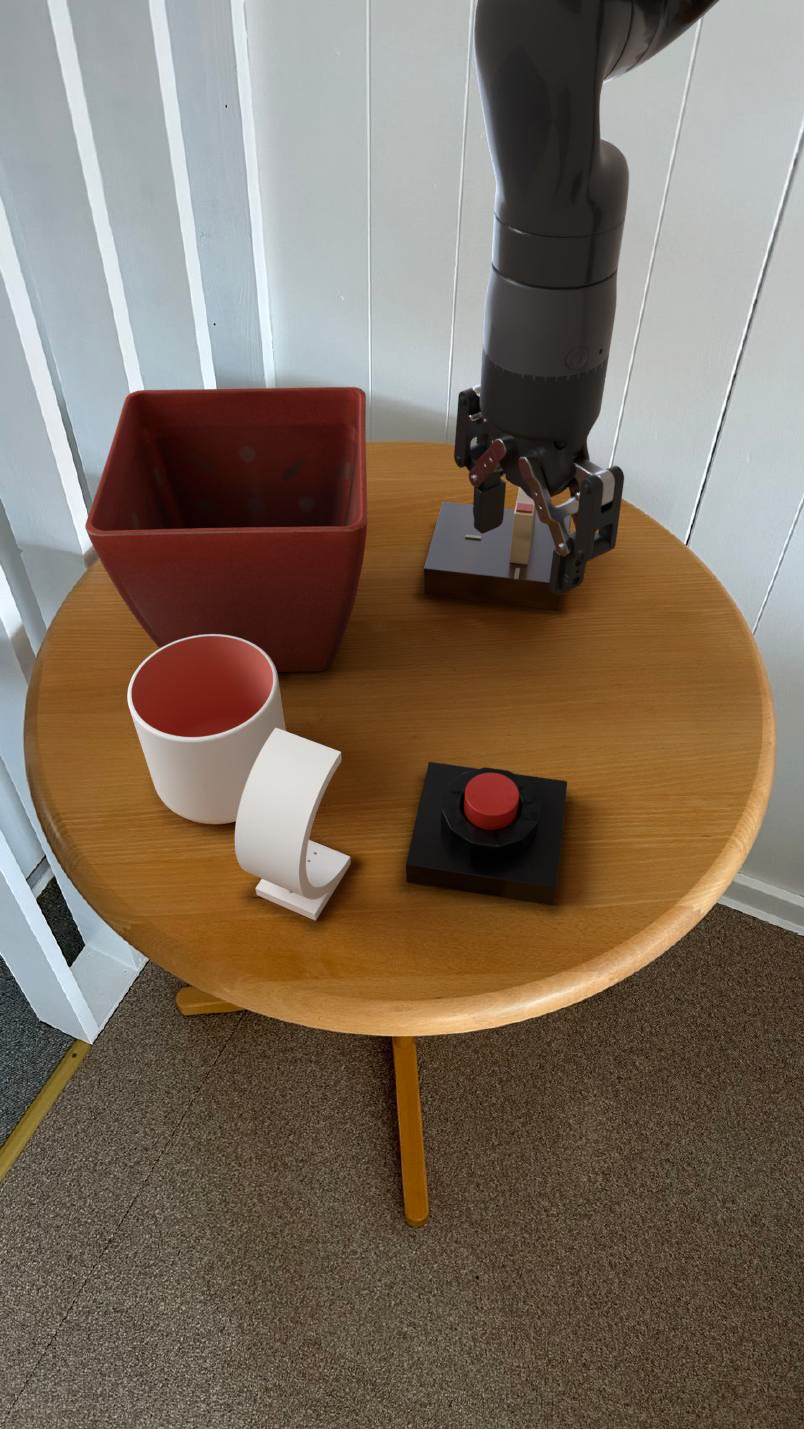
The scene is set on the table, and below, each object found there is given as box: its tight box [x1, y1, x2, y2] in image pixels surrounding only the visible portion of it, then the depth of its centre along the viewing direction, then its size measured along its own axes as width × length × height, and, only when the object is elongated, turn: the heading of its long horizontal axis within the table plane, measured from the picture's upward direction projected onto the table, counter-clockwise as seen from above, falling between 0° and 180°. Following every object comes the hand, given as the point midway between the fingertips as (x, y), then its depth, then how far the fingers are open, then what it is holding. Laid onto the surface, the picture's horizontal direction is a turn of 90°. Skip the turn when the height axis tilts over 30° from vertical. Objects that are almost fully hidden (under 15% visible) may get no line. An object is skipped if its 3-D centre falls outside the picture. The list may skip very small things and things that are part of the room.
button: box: [464, 773, 519, 830], centre depth 65 cm, size 4×4×2 cm
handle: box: [510, 487, 537, 564], centre depth 84 cm, size 6×2×5 cm, turn 169°
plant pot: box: [84, 386, 368, 673], centre depth 77 cm, size 19×19×17 cm
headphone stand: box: [234, 728, 352, 922], centre depth 61 cm, size 5×6×12 cm
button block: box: [405, 761, 568, 906], centre depth 67 cm, size 10×9×4 cm
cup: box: [127, 634, 287, 825], centre depth 68 cm, size 10×10×10 cm
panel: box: [423, 501, 572, 611], centre depth 87 cm, size 13×10×3 cm
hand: (524, 557), depth 69 cm, fingers open, 8 cm apart
